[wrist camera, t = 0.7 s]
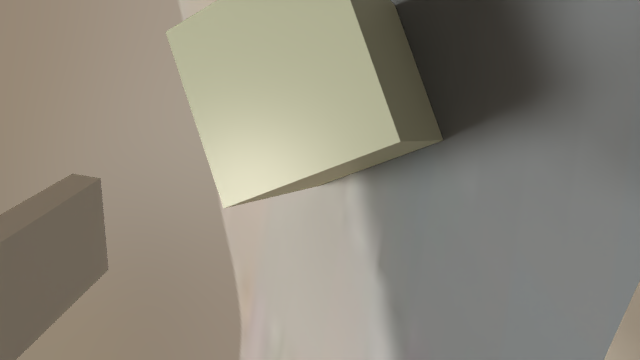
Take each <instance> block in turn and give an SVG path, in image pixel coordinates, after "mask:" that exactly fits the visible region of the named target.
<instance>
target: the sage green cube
mask: <svg viewBox="0 0 640 360" xmlns="http://www.w3.org/2000/svg"><path fill="white" fill-rule="evenodd" d="M166 35H167V38H168V41H169V44H170V47H171V50H172V53H173V56H174V59H175V62H176V65H177V68H178V71H179V74H180V77H181V80H182V84H183V87H184V90H185V92H186V96H187V99H188V102H189V105H190V108H191V111H192V114H193V117H194V120H195V123H196V126H197V129H198V132H199V135H200V138H201V141H202V144H203V147H204V150H205V153H206V156H207V159H208V162H209V165H210V168H211V171H212V174H213V177H214V180H215V184H216V187H217V190H218V193H219V196H220V199H221V202H222V205H223V208H228V207H232V206H236V205H240V204H244V203H249V202H253V201H257V200H261V199H266V198H270V197H274V196H278V195H282V194H287V193H291V192H295V191H299V190H303V189H308V188H312V187H316V186H319V185H322V184H325V183H328V182H330V181H333V180H336V179H339V178H341V177H344V176H347V175H350V174H352V173H355V172H358V171H361V170H363V169H366V168H369V167H372V166H374V165H377V164H380V163H383V162H385V161H388V160H391V159H394V158H396V157H399V156H402V155H404V154H407V153H410V152H413V151H415V150H418V149H421V148H424V147H426V146H429V145H432V144H435V143H437V142H440V141H443V138H442V135H441V132H440V129H439V127H438V124H437V121H436V118H435V116H434V113H433V110H432V107H431V104H430V102H429V99H428V96H427V93H426V91H425V88H424V85H423V82H422V79H421V77H420V74H419V71H418V68H417V66H416V63H415V60H414V57H413V54H412V52H411V49H410V46H409V43H408V41H407V38H406V35H405V32H404V29H403V27H402V24H401V21H400V18H399V16H398V13H397V10H396V7H395V5H394V4H393V3H392V2H391V1H390V0H217V1H215V2H214V3H212V4H210V5H209V6H207V7H205V8H204V9H202V10H201V11H199V12H197V13H196V14H194V15H192V16H191V17H189V18H187V19H186V20H184V21H183V22H181V23H179V24H178V25H176V26H175V27H173V28H171V29H170V30H168V31H166Z"/></svg>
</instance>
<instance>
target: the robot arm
mask: <svg viewBox="0 0 640 360" xmlns="http://www.w3.org/2000/svg"><path fill="white" fill-rule="evenodd" d="M107 270H108V260H107V248H106V237H105V226H104V213H103V202H102V190H101V180H100V178H95V177H89V176H83V175H76V174H71V175H69V176H68V177H66V178H64V179H62V180H61V181H59V182H57V183H55V184H53V185H52V186H50V187H48V188H47V189H45V190H43V191H41V192H40V193H38V194H36V195H34V196H32V197H31V198H29V199H27V200H25V201H24V202H22V203H20V204H19V205H17V206H15V207H14V208H11V209H10V210H8V211H6V212H4V213H3V214H1V215H0V360H16V359H17V358H18V357H19V356H20V355H21V354H22V353H23V352H24V351H25V350H26V349H27V348H28V347H29V346H31V345H32V344H33V343H34V342H35V341H36V340H37V339H38V338H39V337H40V336H41V335H42V334H43V333H44V332H45V331H46V330H47V329H48V328H49V327H50V326H51V325H52V324H53V323H54V322H55V321H56V320H57V319H58V318H59V317H60V316H61V315H62V314H63V313H64V312H65V311H66V310H67V309H68V308H70V306H72V304H74V303H75V302H76V301H77V300H78V299H79V298H80V297H81V296H82V295H83V294H84V293H85V292H86V291H87V290H88V289H89V288H90V287H91V286H92V285H93V284H94V283H95V282H96V281H97V280H98V279H99V278H100V277H101V276H102V275H103V274H104V273H105V272H106V271H107ZM604 360H640V281H639V284H638V286H637V288H636V290H635V292H634V295H633V297H632V299H631V301H630V303H629V306H628V308H627V310H626V312H625V315H624V317H623V319H622V321H621V323H620V326H619V328H618V330H617V332H616V334H615V337H614V339H613V341H612V343H611V345H610V348H609V350H608V352H607V354H606V357H605V359H604Z"/></svg>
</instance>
